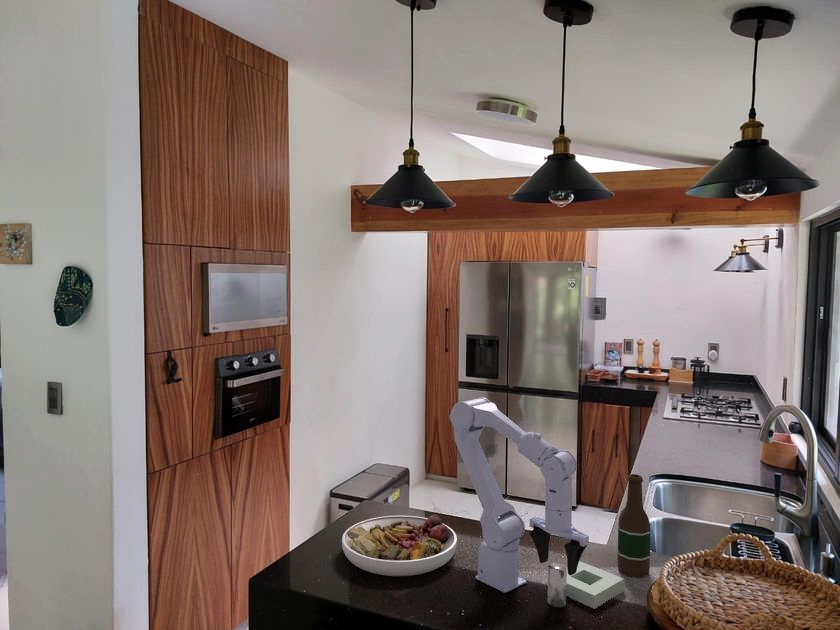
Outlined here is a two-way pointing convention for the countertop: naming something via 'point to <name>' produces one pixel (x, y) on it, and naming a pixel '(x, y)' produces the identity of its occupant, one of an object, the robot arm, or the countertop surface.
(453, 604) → the countertop surface
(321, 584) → the countertop surface
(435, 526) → the bowl
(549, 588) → the steel peg
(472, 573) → the countertop surface
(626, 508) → the beer bottle
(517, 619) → the countertop surface
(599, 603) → the hole block
